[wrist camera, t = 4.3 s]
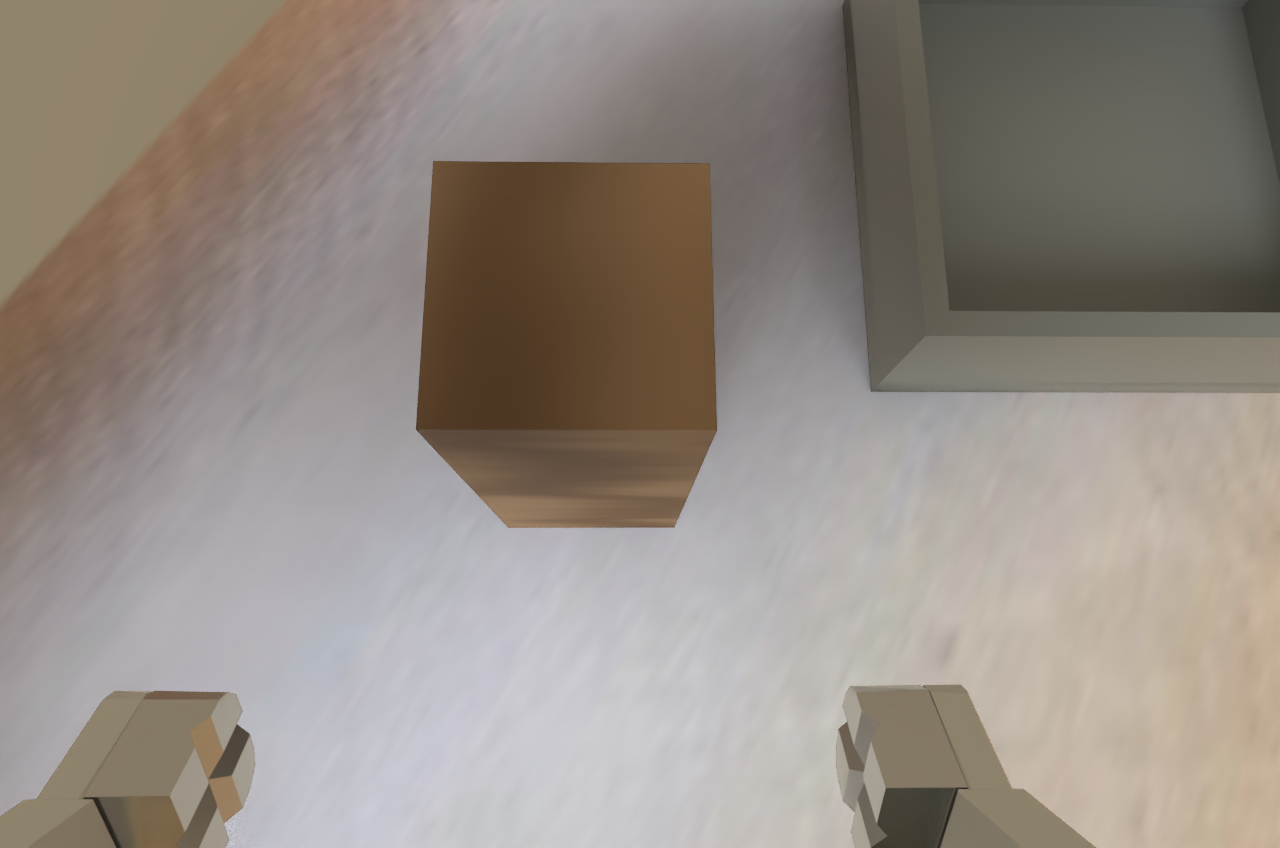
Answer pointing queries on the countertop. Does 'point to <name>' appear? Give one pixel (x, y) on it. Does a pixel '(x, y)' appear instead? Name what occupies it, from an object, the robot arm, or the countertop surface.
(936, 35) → the box
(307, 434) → the countertop surface
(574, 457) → the wooden block
